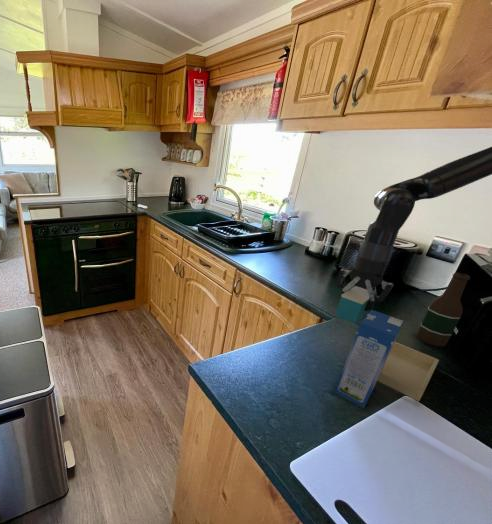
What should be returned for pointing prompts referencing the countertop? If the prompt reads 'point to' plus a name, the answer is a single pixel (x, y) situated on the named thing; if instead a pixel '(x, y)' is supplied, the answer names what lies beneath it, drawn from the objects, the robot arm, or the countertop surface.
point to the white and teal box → (353, 304)
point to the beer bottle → (443, 313)
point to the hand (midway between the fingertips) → (354, 305)
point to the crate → (407, 371)
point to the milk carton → (367, 356)
